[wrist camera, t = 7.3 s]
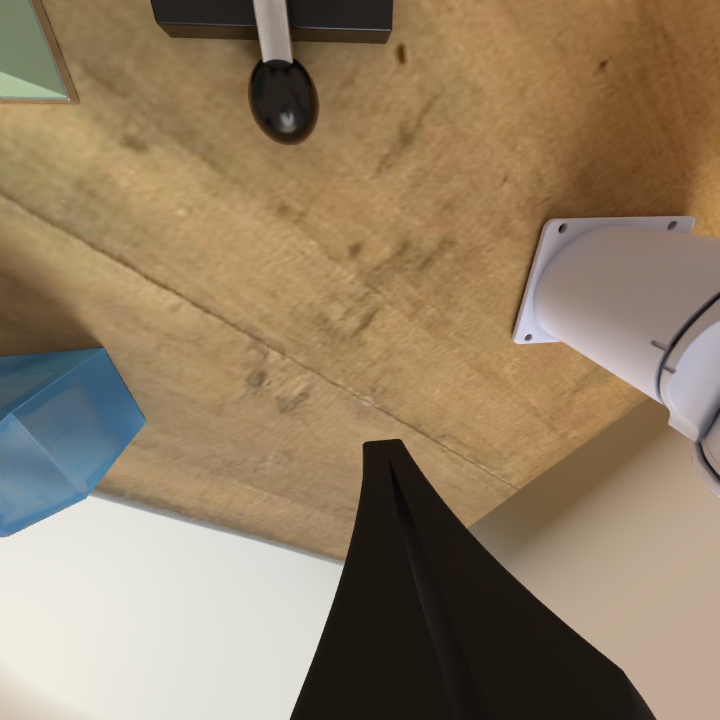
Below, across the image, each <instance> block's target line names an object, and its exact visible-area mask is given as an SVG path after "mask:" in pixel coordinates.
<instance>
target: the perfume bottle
mask: <svg viewBox="0 0 720 720" xmlns="http://www.w3.org/2000/svg"><path fill="white" fill-rule="evenodd" d="M145 423H146V420H145V419H144V417H143V415H142V413H141V412H140V410H139V408H138V406H137V405H136V403H135V401H134V399H133V398H132V396H131V394H130V392H129V391H128V389H127V387H126V385H125V384H124V382H123V380H122V378H121V377H120V375H119V373H118V372H117V370H116V368H115V366H114V365H113V363H112V361H111V359H110V358H109V356H108V354H107V352H106V351H105V349H104V348H93V349H82V350H71V351H60V352H49V353H38V354H27V355H16V356H5V357H0V537H7V536H10V535H12V534H14V533H16V532H18V531H20V530H22V529H25V528H27V527H29V526H31V525H33V524H35V523H37V522H39V521H41V520H43V519H45V518H47V517H49V516H51V515H53V514H55V513H57V512H59V511H61V510H63V509H65V508H67V507H69V506H71V505H73V504H75V503H78V502H80V501H82V500H83V499H86V498H87V496H88V495H89V494H90V493H91V491H92V490H93V489H94V488H95V486H96V485H97V484H98V482H99V481H100V480H101V479H102V477H103V476H104V475H105V473H106V472H107V471H108V470H109V468H110V467H111V466H112V465H113V463H114V462H115V461H116V459H117V458H118V457H119V456H120V454H121V453H122V452H123V451H124V449H125V448H126V447H127V445H128V444H129V443H130V442H131V440H132V439H133V438H134V437H135V435H136V434H137V433H138V431H139V430H140V429H141V428H142V426H143V425H144V424H145Z"/></svg>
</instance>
